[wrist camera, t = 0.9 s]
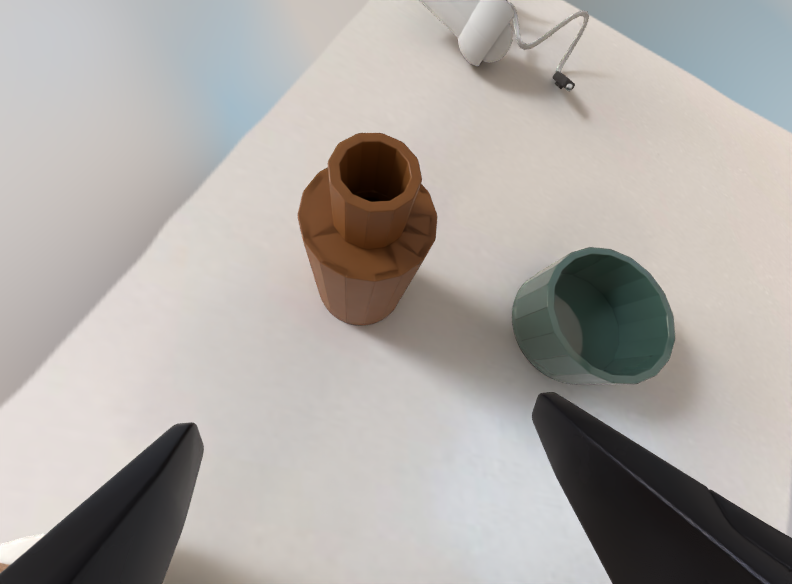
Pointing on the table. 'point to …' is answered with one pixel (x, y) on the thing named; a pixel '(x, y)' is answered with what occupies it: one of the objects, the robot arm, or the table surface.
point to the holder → (594, 320)
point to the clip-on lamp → (493, 30)
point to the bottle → (366, 226)
